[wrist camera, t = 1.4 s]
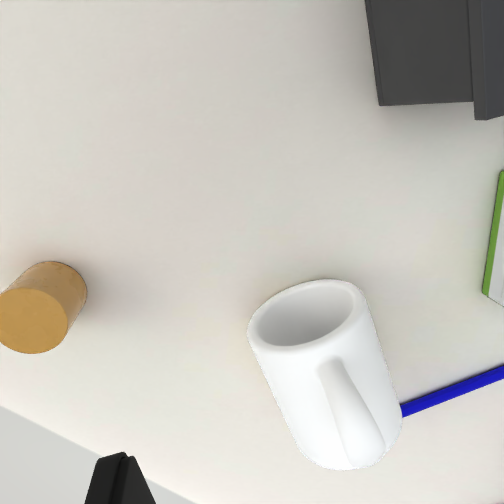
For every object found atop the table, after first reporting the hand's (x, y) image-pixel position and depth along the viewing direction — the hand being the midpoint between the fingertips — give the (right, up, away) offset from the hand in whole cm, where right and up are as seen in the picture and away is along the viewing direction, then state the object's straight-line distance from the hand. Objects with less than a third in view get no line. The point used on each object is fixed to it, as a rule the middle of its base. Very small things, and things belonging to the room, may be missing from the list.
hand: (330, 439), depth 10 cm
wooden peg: (-16, +2, +19) cm, 24 cm away
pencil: (+18, -7, +26) cm, 32 cm away
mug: (+3, -2, +23) cm, 23 cm away
